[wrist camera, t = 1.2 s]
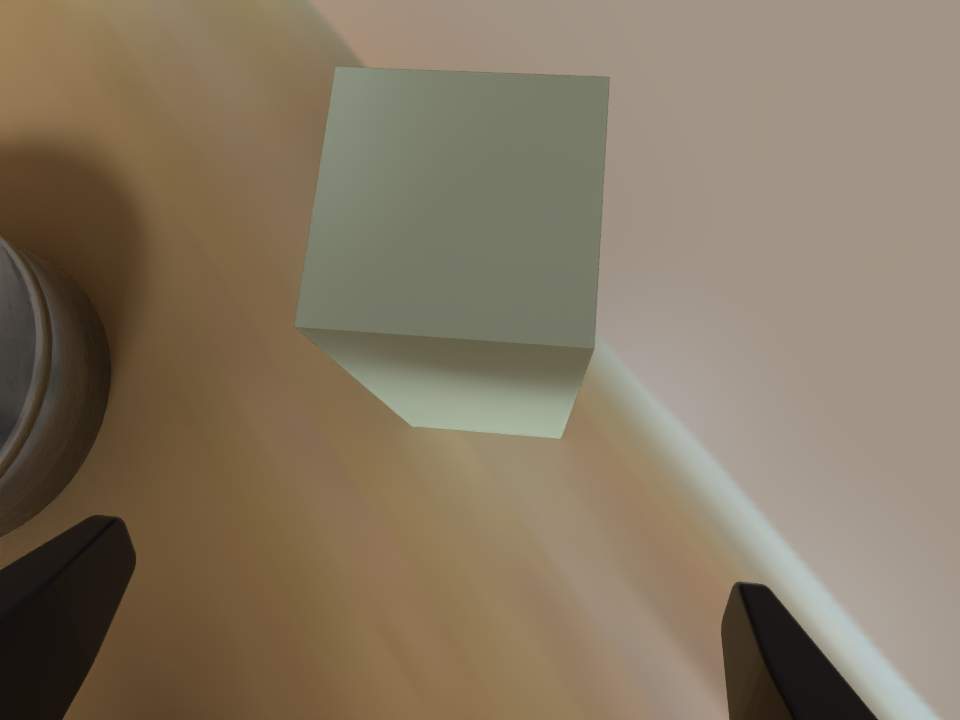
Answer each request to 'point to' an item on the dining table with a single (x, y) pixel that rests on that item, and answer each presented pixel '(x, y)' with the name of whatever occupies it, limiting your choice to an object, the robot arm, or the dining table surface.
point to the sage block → (459, 243)
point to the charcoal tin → (45, 382)
